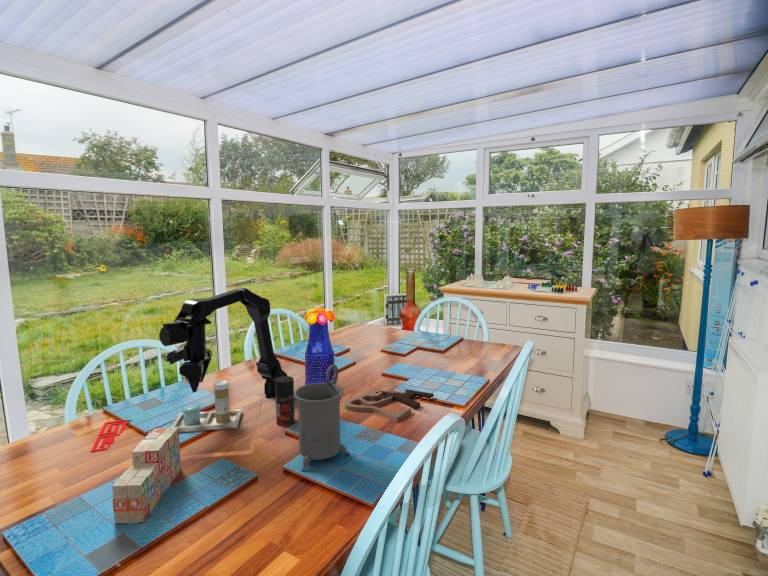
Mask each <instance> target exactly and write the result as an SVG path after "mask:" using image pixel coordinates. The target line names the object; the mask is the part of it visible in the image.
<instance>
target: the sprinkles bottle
mask: <svg viewBox="0 0 768 576" xmlns="http://www.w3.org/2000/svg"><path fill="white" fill-rule="evenodd" d="M229 386H230V385H229V381H228V380H224V379H223V380H217V381H215V382H214V383H213V389H214V390H213V391H214V411H215V412H216V422H217V423H227V422H228V421H230V413H229V411H230V410H231V409H230V407H231V406H230V393H229Z"/></svg>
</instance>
